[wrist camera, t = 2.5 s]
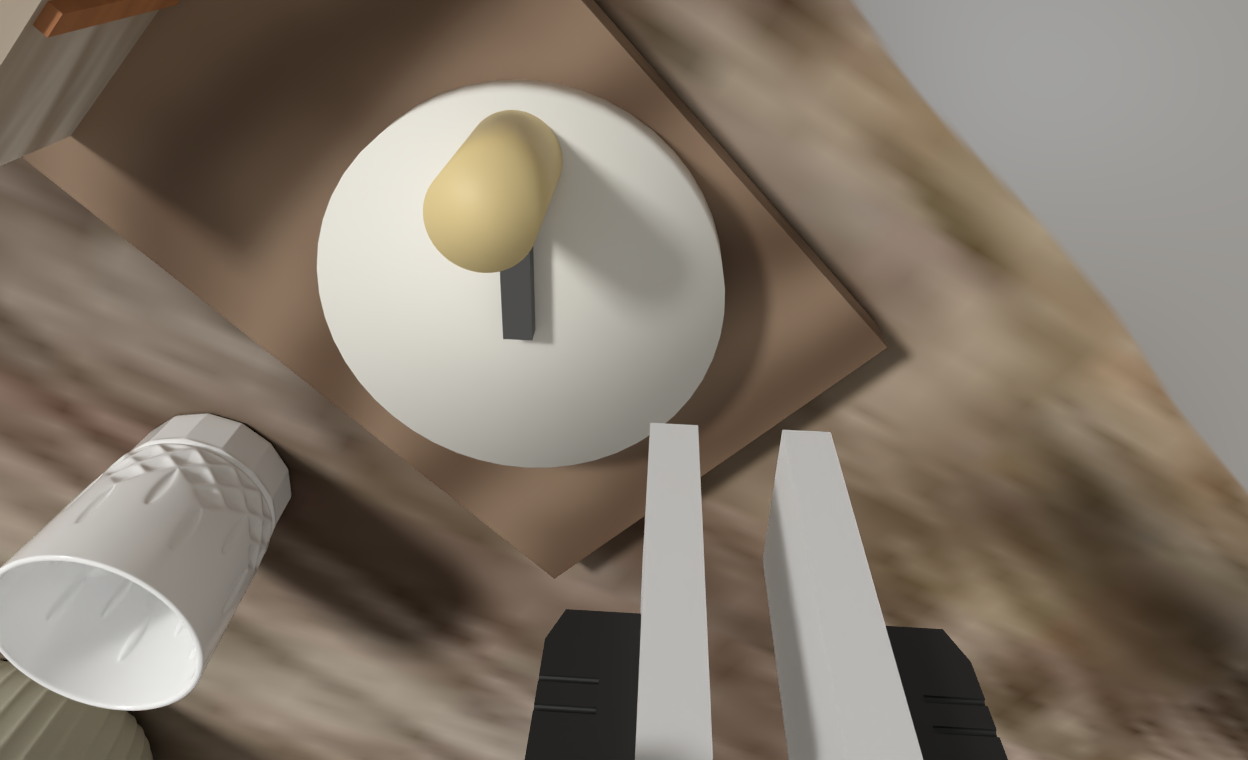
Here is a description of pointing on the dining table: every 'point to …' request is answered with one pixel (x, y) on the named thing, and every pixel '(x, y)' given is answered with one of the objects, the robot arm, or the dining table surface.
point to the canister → (62, 725)
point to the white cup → (145, 566)
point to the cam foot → (522, 274)
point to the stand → (324, 149)
